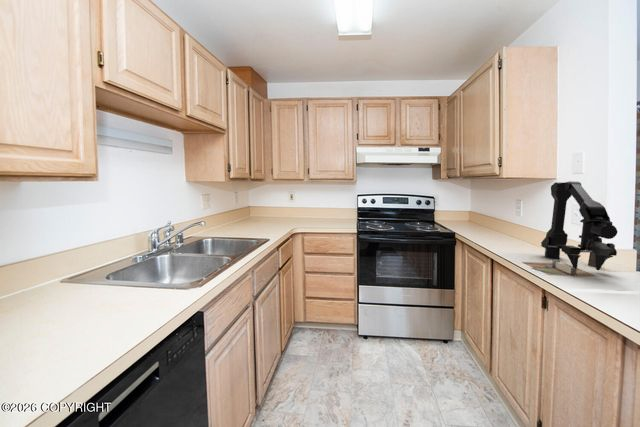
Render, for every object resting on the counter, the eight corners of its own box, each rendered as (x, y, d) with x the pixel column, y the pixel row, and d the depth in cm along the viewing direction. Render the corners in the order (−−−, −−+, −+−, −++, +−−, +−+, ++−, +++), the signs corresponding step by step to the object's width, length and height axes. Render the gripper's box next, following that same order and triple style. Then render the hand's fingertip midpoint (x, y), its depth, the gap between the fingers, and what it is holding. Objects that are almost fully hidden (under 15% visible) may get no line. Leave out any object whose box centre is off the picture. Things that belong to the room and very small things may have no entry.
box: (600, 270, 142) (603, 244, 141) (587, 267, 145) (590, 242, 144) (601, 267, 146) (604, 242, 145) (588, 265, 149) (591, 241, 148)
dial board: (518, 264, 150) (518, 261, 150) (564, 265, 149) (564, 262, 148) (545, 277, 130) (545, 274, 130) (599, 279, 128) (599, 276, 128)
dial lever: (550, 266, 142) (551, 259, 141) (557, 266, 141) (557, 259, 141) (571, 274, 129) (572, 267, 128) (578, 275, 129) (579, 267, 128)
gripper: (581, 237, 124) (577, 275, 126) (631, 238, 123) (626, 276, 125) (562, 232, 135) (558, 267, 137) (607, 233, 134) (603, 268, 136)
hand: (586, 269), depth 133 cm, fingers open, 9 cm apart
